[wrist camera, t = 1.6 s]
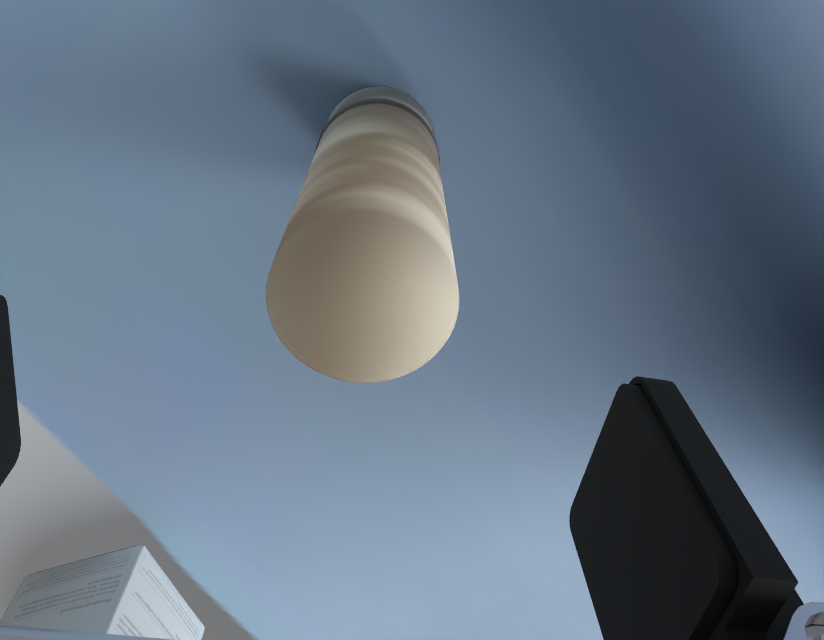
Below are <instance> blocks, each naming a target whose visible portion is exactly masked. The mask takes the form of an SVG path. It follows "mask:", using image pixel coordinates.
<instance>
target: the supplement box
mask: <svg viewBox="0 0 824 640" xmlns="http://www.w3.org/2000/svg"><path fill="white" fill-rule="evenodd" d="M0 625H9V626H21V627H33V628H44V629H56V630H68V631H80V632H92V633H103V634H115V635H127V636H139V637H151V638H162V639H174V640H201V639H202V636H203V632H204V626H203V624H202V623H201V622H200V620H199V619H198V618H197V616H196V615H195V614H194V612H193V611H192V610H191V608H190V607H189V606H188V604H187V603H186V601H185V600H184V599H183V597H182V596H181V595H180V593H179V592H178V591H177V589H176V588H175V587H174V585H173V584H172V583H171V581H170V580H169V579H168V577H167V576H166V574H165V573H164V572H163V570H162V569H161V567H160V566H159V565H158V563H157V562H156V561H155V559H154V558H153V557H152V556H151V554H150V553H149V551H148V550H147V549H146V547H145V546H144V545H137V546H133V547H130V548H126V549H121V550H118V551H114V552H110V553H107V554H103V555H98V556H95V557H91V558H88V559H83V560H80V561H76V562H73V563H69V564H66V565H61V566H57V567H54V568H51V569H46V570H43V571H39V572H36V573H34V574H30V575H28V576H27V577H25V578H24V580H23V582H22V584H21V585H20V587H19V589H18V591H17V593H16V594H15V597H14V598H13V600H12V602H11V603H10V605H9V607H8V608H7V610H6V612H5V613H4V615H3V617H2V619H1V621H0Z"/></svg>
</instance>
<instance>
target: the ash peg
mask: <svg viewBox="0 0 824 640" xmlns="http://www.w3.org/2000/svg"><path fill="white" fill-rule="evenodd" d="M266 302H267V310H268V314H269V317H270V321H271V323H272V325H273V328H274V330H275V332H276V334H277V335H278V337H279V339H280V340H281V342H282V343H283V344H284V345H285V347H286V348H287V349H288V350H289V351H290V352H291V353H292V354H293V355H294V356H295V357H296V358H297V359H299V360H300V361H301V362H302V363H304V364H305V365H307V366H308V367H310V368H312V369H313V370H315V371H317V372H319V373H322V374H324V375H326V376H329V377H332V378H335V379H339V380H343V381H348V382H358V383H374V382H381V381H387V380H391V379H395V378H398V377H401V376H404V375H406V374H409V373H411V372H413V371H414V370H416V369H418V368H420V367H421V366H423V365H424V364H426V363H427V362H428V361H429V360H430V359H432V358H433V357H434V356H435V355H436V354H437V353H438V352H439V351H440V349H441V348H442V347H443V346H444V344H445V343H446V341H447V340H448V338H449V336H450V334H451V332H452V330H453V328H454V325H455V322H456V319H457V315H458V309H459V289H458V282H457V275H456V269H455V263H454V256H453V250H452V244H451V237H450V231H449V224H448V218H447V212H446V205H445V199H444V192H443V186H442V180H441V173H440V158H439V151H438V146H437V142H436V139H435V135H434V130H433V126H432V123H431V121H430V118H429V117H428V115H427V113H426V112H425V110H424V109H423V108H422V106H421V105H420V104H419V103H418V102H417V101H416V100H415V99H413V98H412V97H411V96H409V95H407V94H406V93H404V92H402V91H399V90H397V89H393V88H389V87H382V86H381V87H368V88H364V89H361V90H358V91H356V92H354V93H352V94H350V95H349V96H347V97H346V98H344V99H343V100H342V101H341V102H340V103H339V104H338V105H337V106H336V107H335V109H334V110H333V112H332V113H331V115H330V117H329V119H328V122H327V124H326V126H325V128H324V129H323V131H322V133H321V136H320V138H319V141H318V144H317V147H316V152H315V155H314V158H313V160H312V163H311V166H310V168H309V171H308V173H307V176H306V178H305V181H304V184H303V186H302V189H301V191H300V194H299V196H298V199H297V202H296V204H295V207H294V209H293V212H292V214H291V217H290V220H289V222H288V225H287V227H286V230H285V232H284V235H283V238H282V240H281V243H280V245H279V248H278V250H277V253H276V255H275V258H274V261H273V263H272V266H271V269H270V272H269V275H268V280H267V286H266Z"/></svg>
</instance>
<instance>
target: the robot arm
mask: <svg viewBox="0 0 824 640" xmlns="http://www.w3.org/2000/svg"><path fill="white" fill-rule="evenodd" d="M20 446H21V437H20V427H19V417H18V406H17V396H16V386H15V376H14V366H13V356H12V346H11V335H10V325H9V315H8V306H7V301H6V299H5V297H3V296H2V295H0V486H1V484H2V483H3V482H4V480H5V478H6V477H7V476H8V474H9V473H10V471H11V470H12V468H13V467H14V465H15V463H16V461H17V459H18V456H19V452H20ZM570 529H571V533H572V536H573V540H574V543H575V546H576V550H577V553H578V556H579V559H580V563H581V566H582V569H583V573H584V576H585V579H586V583H587V586H588V589H589V592H590V596H591V599H592V602H593V606H594V609H595V612H596V616H597V619H598V622H599V625H600V629H601V632H602V635H603V639H604V640H824V603H820V602H810V603H807V604H805V605H804V604H803V602H802V600H801V599H800V597H799V596H798V594H797V592H796V591H795V589H794V588H795V587H796V585H797V583H798V581H797V579H796V578H795V576H794V574H793V573H792V571H791V570H790V568H789V566H788V565H787V563H786V562H785V560H784V558H783V557H782V555H781V554H780V552H779V550H778V549H777V547H776V546H775V544H774V542H773V541H772V539H771V538H770V536H769V534H768V533H767V531H766V530H765V528H764V526H763V525H762V523H761V522H760V520H759V518H758V517H757V515H756V514H755V512H754V510H753V509H752V507H751V505H750V504H749V502H748V501H747V499H746V497H745V496H744V494H743V493H742V491H741V489H740V488H739V486H738V485H737V483H736V481H735V480H734V478H733V477H732V475H731V473H730V472H729V470H728V469H727V467H726V465H725V464H724V462H723V461H722V459H721V457H720V456H719V454H718V453H717V451H716V449H715V448H714V446H713V445H712V443H711V441H710V440H709V438H708V437H707V435H706V433H705V432H704V430H703V429H702V427H701V425H700V424H699V422H698V420H697V419H696V417H695V416H694V414H693V412H692V411H691V409H690V408H689V406H688V404H687V403H686V401H685V400H684V398H683V396H682V395H681V393H680V392H679V390H678V388H677V387H676V385H675V384H674V383H673V382H671V381H666V380H659V379H652V378H645V377H638V376H637V377H635V378H633V379H632V380H631V381H630V383H629V384H622V385H621V386H620V387H619V388H618V390H617V392H616V395H615V397H614V400H613V402H612V405H611V407H610V410H609V412H608V415H607V417H606V420H605V422H604V425H603V428H602V430H601V433H600V435H599V438H598V440H597V443H596V445H595V448H594V450H593V453H592V456H591V458H590V461H589V463H588V466H587V468H586V471H585V473H584V476H583V478H582V481H581V484H580V486H579V489H578V491H577V494H576V496H575V499H574V501H573V504H572V507H571V511H570ZM0 640H174V639H162V638H151V637H139V636H127V635H115V634H103V633H92V632H80V631H68V630H56V629H44V628H33V627H21V626H9V625H0Z"/></svg>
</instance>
